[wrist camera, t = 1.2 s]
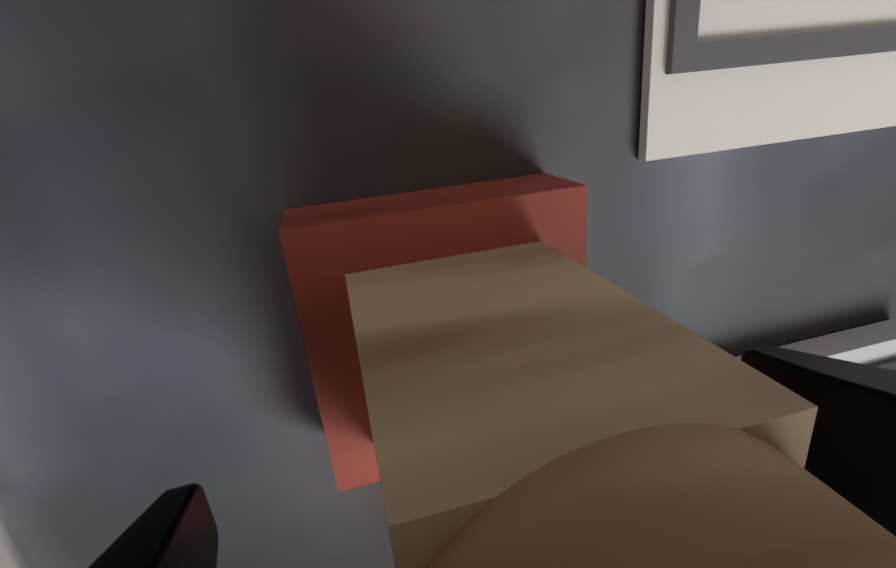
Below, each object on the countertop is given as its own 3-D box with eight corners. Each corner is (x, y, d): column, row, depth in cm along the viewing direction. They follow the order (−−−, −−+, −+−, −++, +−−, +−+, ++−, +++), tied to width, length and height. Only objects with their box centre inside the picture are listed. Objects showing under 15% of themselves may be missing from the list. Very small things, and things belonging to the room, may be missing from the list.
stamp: (547, 385, 14) (907, 819, 5) (334, 436, 13) (373, 1094, 4) (543, 172, 12) (1143, 349, 3) (284, 209, 10) (151, 643, 2)
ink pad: (837, 518, 20) (868, 542, 19) (641, 584, 18) (662, 616, 17) (891, 319, 16) (932, 334, 15) (656, 375, 15) (684, 397, 13)
